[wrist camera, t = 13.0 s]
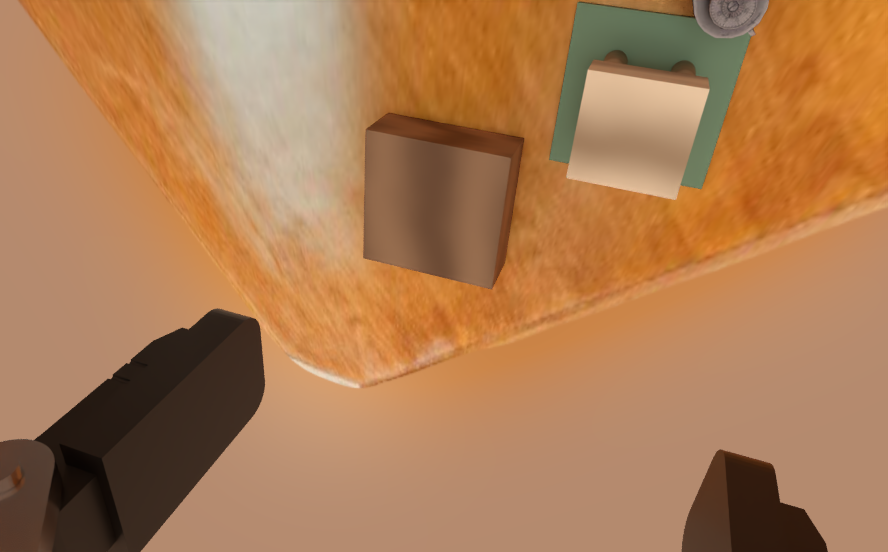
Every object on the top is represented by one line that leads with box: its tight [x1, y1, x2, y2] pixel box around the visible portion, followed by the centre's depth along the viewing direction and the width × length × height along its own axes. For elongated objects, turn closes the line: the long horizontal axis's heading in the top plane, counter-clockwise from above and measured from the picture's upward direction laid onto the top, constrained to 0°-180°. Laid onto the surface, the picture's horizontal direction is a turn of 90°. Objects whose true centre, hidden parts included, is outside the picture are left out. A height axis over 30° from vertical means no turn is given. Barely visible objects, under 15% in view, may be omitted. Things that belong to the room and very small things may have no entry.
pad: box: [549, 2, 754, 189], centre depth 40 cm, size 10×10×1 cm
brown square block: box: [363, 113, 524, 289], centre depth 46 cm, size 10×10×4 cm
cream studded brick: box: [566, 50, 710, 200], centre depth 37 cm, size 6×6×8 cm
